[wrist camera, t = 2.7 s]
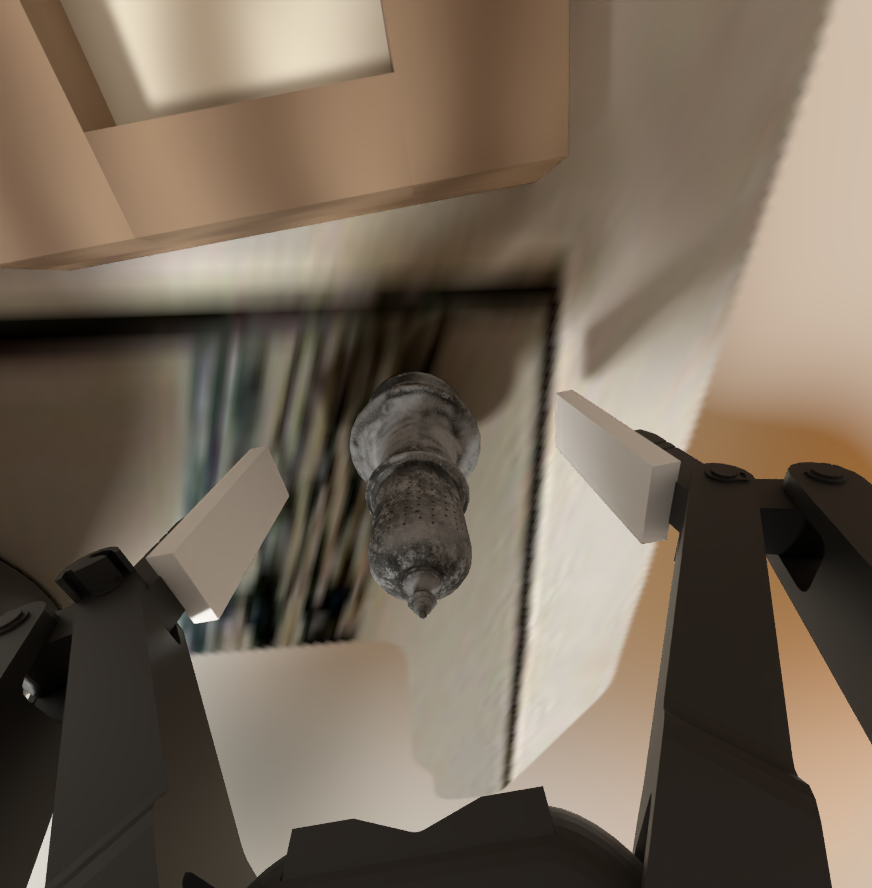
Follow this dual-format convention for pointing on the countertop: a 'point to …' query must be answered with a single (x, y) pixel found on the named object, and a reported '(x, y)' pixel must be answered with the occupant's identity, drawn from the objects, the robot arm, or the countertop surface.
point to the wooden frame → (262, 116)
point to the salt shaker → (417, 486)
